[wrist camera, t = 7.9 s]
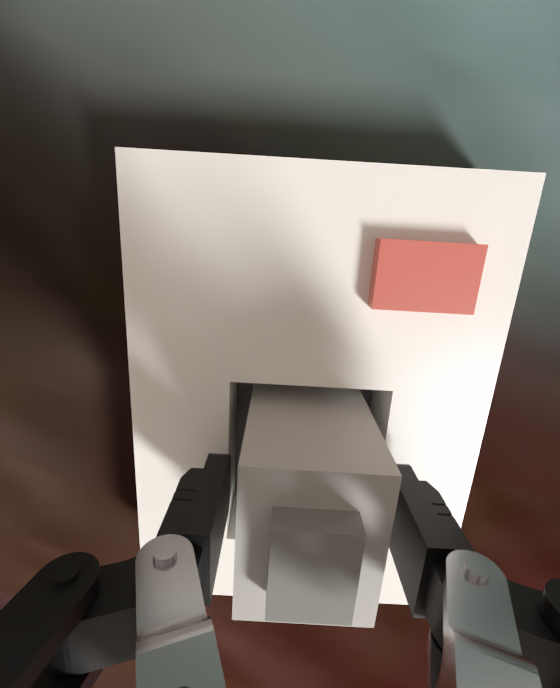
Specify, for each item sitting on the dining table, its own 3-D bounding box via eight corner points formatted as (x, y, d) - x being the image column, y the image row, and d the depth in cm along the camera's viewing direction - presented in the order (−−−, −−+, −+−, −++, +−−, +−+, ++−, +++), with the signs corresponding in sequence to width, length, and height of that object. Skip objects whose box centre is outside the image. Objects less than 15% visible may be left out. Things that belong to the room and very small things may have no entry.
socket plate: (151, 165, 13) (105, 141, 10) (489, 185, 13) (561, 169, 10) (165, 533, 18) (137, 605, 14) (416, 546, 18) (448, 621, 14)
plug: (255, 375, 15) (233, 487, 8) (356, 381, 15) (413, 498, 8) (250, 482, 16) (227, 650, 10) (341, 488, 16) (380, 658, 10)
